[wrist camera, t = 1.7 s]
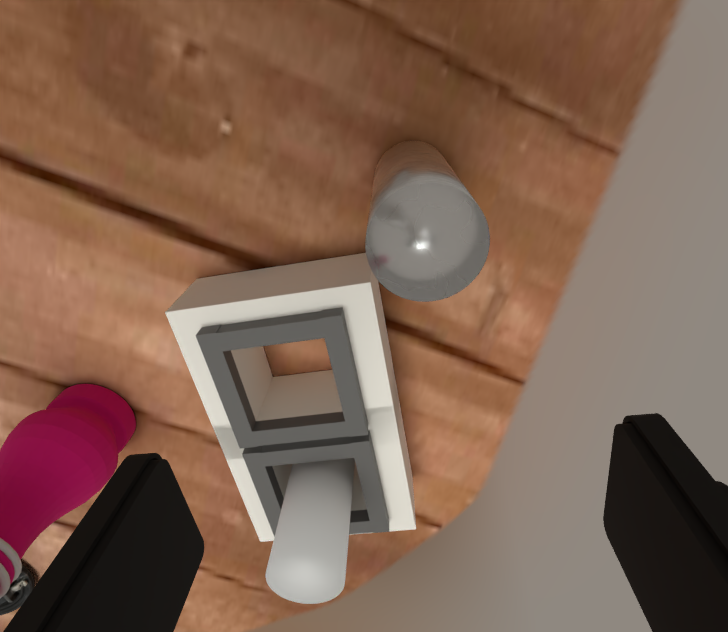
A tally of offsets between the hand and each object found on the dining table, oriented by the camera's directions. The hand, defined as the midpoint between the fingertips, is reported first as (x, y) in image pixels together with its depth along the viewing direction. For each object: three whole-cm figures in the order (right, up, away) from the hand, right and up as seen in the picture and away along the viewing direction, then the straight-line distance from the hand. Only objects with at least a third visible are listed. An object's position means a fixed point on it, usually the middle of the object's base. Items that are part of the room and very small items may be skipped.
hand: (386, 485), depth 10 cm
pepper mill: (-22, -4, +27) cm, 35 cm away
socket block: (-4, -2, +25) cm, 25 cm away
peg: (+2, +12, +18) cm, 21 cm away
